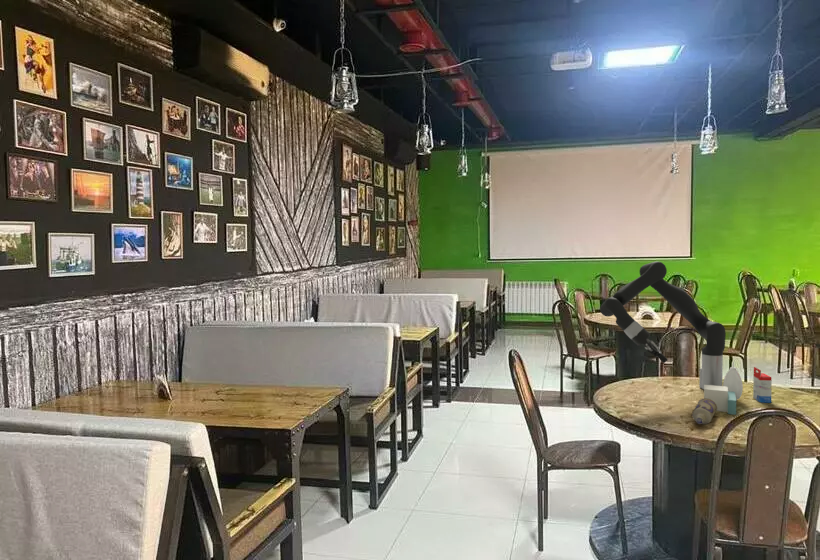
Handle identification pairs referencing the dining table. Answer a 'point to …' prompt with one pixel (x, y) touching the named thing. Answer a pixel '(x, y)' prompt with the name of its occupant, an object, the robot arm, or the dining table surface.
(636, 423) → the dining table surface
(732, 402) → the teal board
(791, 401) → the dining table surface
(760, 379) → the ink box
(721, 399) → the cream block
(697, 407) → the decorative bottle
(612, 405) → the dining table surface
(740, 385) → the sauce bottle
